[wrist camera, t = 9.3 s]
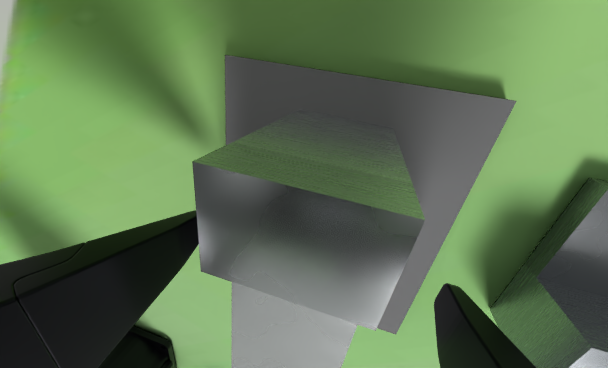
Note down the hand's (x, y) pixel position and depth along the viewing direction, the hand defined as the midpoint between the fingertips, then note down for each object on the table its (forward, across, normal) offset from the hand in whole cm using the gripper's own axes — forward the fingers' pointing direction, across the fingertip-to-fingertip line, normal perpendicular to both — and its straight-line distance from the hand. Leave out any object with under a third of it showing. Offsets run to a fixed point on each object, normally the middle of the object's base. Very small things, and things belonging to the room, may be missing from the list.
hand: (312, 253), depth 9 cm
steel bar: (+2, 0, 0) cm, 2 cm away
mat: (+3, 0, 0) cm, 3 cm away
